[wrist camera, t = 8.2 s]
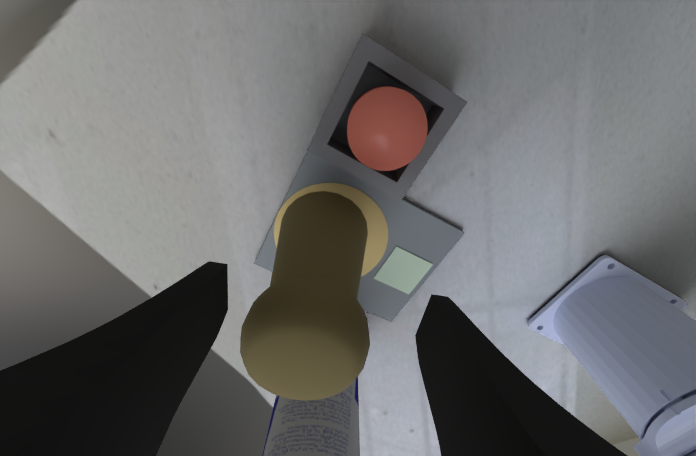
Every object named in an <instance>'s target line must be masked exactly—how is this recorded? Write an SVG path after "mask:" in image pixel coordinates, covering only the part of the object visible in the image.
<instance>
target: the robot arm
mask: <svg viewBox="0 0 696 456" xmlns="http://www.w3.org/2000/svg"><path fill="white" fill-rule="evenodd" d="M609 264H610V265H609ZM687 306H688V303H687V302H686V301H684V300H683V299H681V298H679V297H678V296H676V295H674V294H673V293H671V292H669V291H667V290H666V289H664V288H662V287H661V286H659V285H657V284H656V283H654V282H652V281H650V280H649V279H647V278H645V277H644V276H642V275H640V274H639V273H637V272H635V271H634V270H632V269H630V268H628V267H627V266H625V265H623V264H622V263H620V262H618V261H617V260H615V259H613V258H611V257H610V256H608V255H603V256H600V257H599V258H598V259H597V260H595V261H594V262H593V263H592V264H591V265H590V266H589V267H588V268H587V269H585V270H584V271H583V272H582V273H581V274H580V275H579V276H578V277H577V278H575V279H574V280H573V281H572V282H571V283H570V284H569V285H568V286H566V287H565V288H564V289H563V290H562V291H561V292H560V293H559V294H558V295H556V296H555V297H554V298H553V299H552V300H551V301H550V302H549V303H548V304H546V305H545V306H544V307H543V308H542V309H541V310H540V311H539V312H538V313H536V314H535V315H534V316H533V317H532V318H531V319H530V320H529V321H528V322H527V325H528V327H529V328H530V329H532V330H534V331H536V332H538V333H540V334H542V335H544V336H546V337H549V338H551V339H553V340H555V341H557V342H559V343H561V344H563V345H565V346H567V348H568V349H569V350H570V351H571V353H572V354H573V355H574V356H575V358H576V359H577V360H578V361H579V363H580V364H581V365H582V366H583V368H584V369H585V370H586V371H587V373H588V374H589V375H590V376H591V378H592V379H593V380H594V381H595V383H596V384H597V385H598V386H599V388H600V389H601V390H602V391H603V393H604V394H605V395H606V396H607V397H608V399H609V400H610V401H611V402H612V404H613V405H614V406H615V407H616V409H617V410H618V411H619V412H620V414H621V415H622V416H623V417H624V419H625V420H626V421H627V422H628V424H629V425H630V426H631V427H632V429H633V430H634V431H635V432H636V434H637V435H638V436H639V437H640V439H641V441H640V442H639V443H638V444H636V445H635V446H634V449H635V450H636V451H637V453H638V454H639V455H640V456H696V321H695V320H694V319H692V318H691V317H690V316H688V315H687V314H685V313H684V312H683V311H682V310H684V309H685V308H686V307H687ZM227 310H228V283H227V264H223V263H216V262H207V263H206V264H204V265H203V266H201V267H199V268H198V269H196V270H195V271H193V272H192V273H190V274H189V275H187V276H186V277H184V278H183V279H181V280H179V281H178V282H176V283H175V284H173V285H172V286H170V287H168V288H167V289H165V290H164V291H162V292H160V293H159V294H157V295H156V296H154V297H152V298H151V299H149V300H147V301H145V302H144V303H142V304H140V305H138V306H137V307H135V308H133V309H131V310H130V311H128V312H126V313H124V314H123V315H121V316H119V317H117V318H115V319H114V320H112V321H110V322H108V323H106V324H104V325H102V326H100V327H98V328H96V329H94V330H92V331H90V332H88V333H86V334H84V335H82V336H80V337H78V338H75V339H74V340H71V341H69V342H67V343H65V344H63V345H60V346H58V347H55V348H53V349H51V350H49V351H46V352H44V353H41V354H39V355H37V356H34V357H32V358H30V359H28V360H25V361H23V362H21V363H18V364H16V365H14V366H11V367H8V368H6V369H3V370H1V371H0V456H156V454H157V452H158V450H159V448H160V445H161V443H162V441H163V439H164V436H165V434H166V432H167V430H168V427H169V425H170V423H171V421H172V418H173V416H174V414H175V412H176V411H177V408H178V407H179V405H180V403H181V401H182V399H183V397H184V395H185V394H186V392H187V390H188V388H189V386H190V385H191V383H192V381H193V379H194V377H195V376H196V374H197V372H198V370H199V368H200V366H201V365H202V363H203V361H204V359H205V358H206V356H207V354H208V352H209V350H210V348H211V347H212V345H213V343H214V341H215V339H216V337H217V335H218V333H219V330H220V328H221V326H222V323H223V321H224V318H225V315H226V313H227ZM416 344H417V352H418V359H419V365H420V369H421V373H422V377H423V381H424V385H425V389H426V393H427V397H428V400H429V404H430V408H431V412H432V416H433V420H434V423H435V427H436V431H437V436H438V440H439V445H440V450H441V456H627V455H626V454H624V453H623V452H621V451H620V450H618V449H617V448H616V447H614V446H613V445H611V444H610V443H609V442H607V441H606V440H604V439H603V438H602V437H600V436H599V435H598V434H596V433H595V432H594V431H592V430H591V429H590V428H588V427H587V426H586V425H585V424H583V423H582V422H581V421H579V420H578V419H577V418H575V417H574V416H573V415H571V414H570V413H569V412H568V411H566V410H565V409H564V408H563V407H561V406H560V405H559V404H558V403H557V402H555V401H554V400H553V399H552V398H551V397H550V396H548V395H547V394H546V393H545V392H544V391H542V390H541V389H540V388H539V387H538V386H537V385H535V384H534V383H533V382H532V381H531V380H530V379H529V378H528V377H526V376H525V375H524V374H523V373H522V372H521V371H520V370H519V369H518V368H517V367H516V366H515V365H514V364H513V363H512V362H511V361H510V360H509V359H507V358H506V357H505V356H504V355H503V354H502V353H501V352H500V351H499V350H498V349H497V348H496V347H495V346H494V345H493V344H492V343H491V341H490V340H489V339H488V338H487V337H486V336H485V335H484V334H483V333H482V332H481V331H480V330H479V329H478V328H477V327H476V326H475V325H474V324H473V322H472V321H471V320H470V319H469V318H468V317H467V316H466V315H465V314H464V313H463V312H462V311H461V310H460V308H459V307H458V306H457V305H456V304H455V303H454V302H453V301H452V300H451V299H450V298H449V297H445V296H439V295H431V297H430V300H429V303H428V305H427V308H426V310H425V313H424V315H423V318H422V320H421V323H420V325H419V328H418V330H417V333H416Z"/></svg>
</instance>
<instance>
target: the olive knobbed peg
mask: <svg viewBox="0 0 696 456" xmlns="http://www.w3.org/2000/svg"><path fill="white" fill-rule="evenodd" d="M367 236H368V230H367V221H366V219H365V217H364V215H363V213H362V211H361V209H360V208H359V207H358V206H357V205H356V204H355V203H354V202H353V201H352V200H350V199H348V198H346V197H344V196H342V195H340V194H338V193H333V192H327V191H319V192H311V193H308V194H305V195H303V196H301V197H299V198H297V199H296V200H295V201H294V202H293V203H292V204H291V205H289V206H288V207H287V209H286V211H285V213H284V215H283V217H282V221H281V226H280V232H279V238H278V244H277V249H276V255H275V261H274V267H273V272H272V278H271V284H270V287H269V288H268V289H267V290H265V291H264V292H263V293H262V294H261V295H260V296H259V297H258V298H257V299H256V300H255V301H254V303H253V305H252V307H251V309H250V311H249V313H248V315H247V317H246V319H245V321H244V323H243V325H242V331H241V347H240V353H241V356H242V359H243V362H244V365H245V367H246V369H247V372H248V374H249V376H250V377H251V378H252V379H253V380H254V381H255V382H256V383H257V384H258V385H259V386H261V387H262V388H264V389H266V390H267V391H269V392H271V393H273V394H275V395H278V396H281V397H284V398H288V399H294V400H302V401H306V400H319V399H324V398H327V397H330V396H334V395H337V394H338V393H340V392H342V391H343V390H345V389H347V388H348V387H349V386H350V385H351V384H352V383H353V382H354V380H355V379H356V378H357V377H358V375H359V374H360V372H361V371H362V369H363V368H364V364H365V361H366V358H367V355H368V350H369V346H370V340H369V330H368V323H367V318H366V315H365V313H364V311H363V309H362V307H361V305H360V304H359V302H358V300H357V297H358V291H359V285H360V279H361V273H362V266H363V260H364V254H365V248H366V242H367Z"/></svg>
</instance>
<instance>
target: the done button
mask: <svg viewBox="0 0 696 456" xmlns="http://www.w3.org/2000/svg"><path fill="white" fill-rule="evenodd" d="M427 129H428V124H427V117H426V113H425V111H424V109H423V107H422V105H421V103H420V102H419V101H418V100H417V99H416V98H415V97H414V96H413V95H412V94H410V93H409V92H407V91H405V90H402V89H399V88H395V87H391V86H378V87H374V88H371V89H369V90H367V91H365V92H364V93H363V94H361V95H360V96H359V97H358V98H357V99H356V101H355V102H354V104H353V105H352V107H351V109H350V112H349V116H348V124H347V137H348V142H349V145H350V148H351V150H352V152H353V154H354V155H355V157H356V158H357V159H358V160H359V161H360V162H361V163H362V164H364V165H366V166H367V167H369V168H371V169H375V170H379V171H391V170H396V169H398V168H401V167H403V166H405V165H407V164H408V163H410V162H411V161H412V160H413V159H414V158H415V157H416V156H417V155H418V154H419V152H420V151H421V149H422V147H423V145H424V143H425V140H426V137H427Z"/></svg>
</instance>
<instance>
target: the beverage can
mask: <svg viewBox="0 0 696 456" xmlns="http://www.w3.org/2000/svg"><path fill="white" fill-rule="evenodd" d="M262 456H360V444H359V404H358V377H357V378H356V379H355V380H354V382H353V383H352V384H351V385H350V386H349V387H348V388H347V389H345V390H343V391H342V392H340V393H338V394H337V395H334V396H330V397H327V398H324V399H319V400H306V401H302V400H294V399H288V398H284V397H281V396H278V395H276V399H275V403H274V407H273V412H272V416H271V421H270V425H269V429H268V433H267V438H266V442H265V446H264V451H263V455H262Z"/></svg>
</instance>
